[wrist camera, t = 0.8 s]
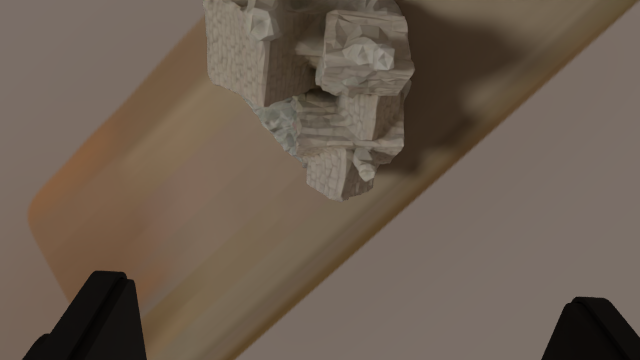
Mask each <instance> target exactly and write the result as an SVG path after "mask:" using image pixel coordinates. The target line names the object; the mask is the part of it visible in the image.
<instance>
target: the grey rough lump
mask: <svg viewBox="0 0 640 360" xmlns="http://www.w3.org/2000/svg"><path fill="white" fill-rule="evenodd" d="M203 7H204V9H205V21H206V35H207V62H208V75H209V77H210V79H211V81H212V83H213V84H215V85H218V86H223V87H224V88H226V89H228V90H232V91H233V92H236V93H238V94H240V95H241V96H242V97H243V98H244V100H245V101H246V102H247V103H248V104H249V106H250V107H251V108H252V110H253V112H254V113H256V114H257V116H258V117H259V119H260V121H261V123H262V125H263V126H264V127H265V128H267V129H268V130H269V131H270V132H271V133H272V134H273V135H274V137H275V138H276V140H277V141H278V143H280V144H281V145H282V147H283V148H284V151H287V152H288V153H289V154H290V155H291V156H294V157H295V158H297V159H298V160H299V161H300V162H302V167H303V168H307V184H308V185H309V186H311V187H313V188H315V189H316V190H318V191H319V192H321V193H322V194H324V195H326V196H327V197H328V198H330V199H333V200H336V201H339V202H343V201H344V200H348V199H349V197H352V196H356V195H361V194H362V193H365V192H368V191H369V190H370V189H371V188H373V180H374V177H375V175H376V173H377V168H378V167H379V165H380V164H386V163H391V161H392V159H393V158H394V157H395V156H396V155H397V154H398V153H399V152H400V151H401V150H402V148H403V147H404V140H405V137H404V101H405V99H406V96H407V95H408V93H409V91H410V87H411V83H412V82H411V80H410V77H411V76H412V75H413V73H414V71H415V67H414V63H413V62H412V60H411V53H410V48H409V41H408V27H407V22H406V20H405V16H402V13H401V10H400V8H399V6H398V5H397V4H396V2H395V1H394V0H203Z"/></svg>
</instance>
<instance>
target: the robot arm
mask: <svg viewBox="0 0 640 360" xmlns="http://www.w3.org/2000/svg"><path fill="white" fill-rule="evenodd" d="M22 360H147V358H146V352H145V345H144V339H143V333H142V326H141V320H140V313H139V307H138V300H137V294H136V287H135V283H134V281H133V280H132V279H127V276H126V274H125V273H124V272H114V271H94V272H93V273H92V274H91V275H90V277H89V278H88V279H87V281H86V282H85V284H84V285H83V287H82V288H81V290H80V291H79V292H78V294H77V295H76V297H75V298H74V300H73V301H72V303H71V304H70V305H69V307H68V308H67V310H66V311H65V313H64V314H63V316H62V317H61V319H60V320H59V322H58V323H57V324H56V326H55V327H54V329H53V330H52V332H51V333H50V334H44V335H42V336H41V337H40V338H39V339H38V340H37V341H36V342H35V343H34V344H33V345H32V347H31V348H30V350H29V351H28V352H27V354H26V355H25V356H24V358H23V359H22ZM541 360H640V337H639V336H638V335H637V334H636V333H635V331H634V330H633V329H632V328H631V326H630V325H629V324H628V323H627V321H626V320H625V319H624V318H623V317H622V315H621V314H620V313H619V312H618V310H617V309H616V308H615V307H614V306H613V304H612V303H611V302H609V300H607V299H605V298H594V297H575V298H574V299H573V300H572V302H571V303H568V304H566V305H565V307H564V309H563V311H562V314H561V315H560V318H559V320H558V322H557V325H556V327H555V329H554V332H553V334H552V336H551V339H550V341H549V343H548V345H547V348H546V350H545V352H544V355H543V357H542V359H541Z"/></svg>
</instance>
